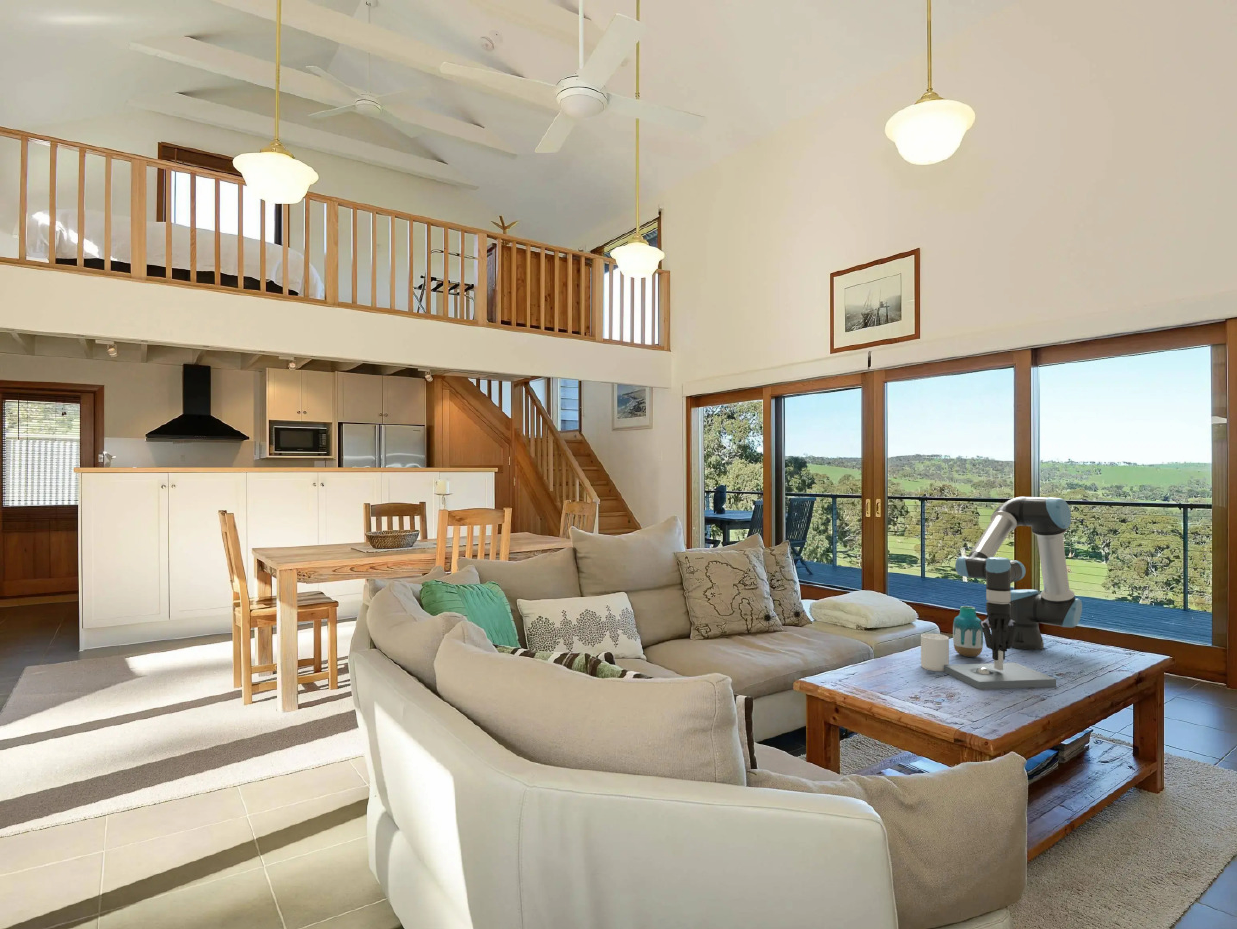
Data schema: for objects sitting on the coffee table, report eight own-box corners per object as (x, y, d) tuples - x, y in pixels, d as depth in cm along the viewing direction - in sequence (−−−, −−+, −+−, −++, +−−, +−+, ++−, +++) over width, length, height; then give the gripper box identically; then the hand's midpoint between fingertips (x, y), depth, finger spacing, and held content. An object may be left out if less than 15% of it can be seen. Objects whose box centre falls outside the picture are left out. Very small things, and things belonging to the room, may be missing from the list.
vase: (947, 654, 272) (946, 606, 272) (965, 651, 276) (965, 603, 276) (970, 661, 262) (970, 610, 262) (989, 657, 267) (989, 608, 267)
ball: (986, 668, 241) (977, 664, 241) (994, 672, 237) (985, 668, 237) (981, 678, 241) (972, 674, 241) (989, 683, 237) (980, 678, 237)
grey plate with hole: (1015, 669, 251) (1015, 662, 251) (1056, 686, 231) (1056, 679, 231) (943, 671, 248) (943, 664, 248) (979, 689, 228) (979, 681, 228)
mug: (937, 673, 246) (937, 640, 246) (909, 664, 257) (909, 633, 257) (954, 669, 251) (954, 637, 251) (926, 661, 261) (926, 631, 261)
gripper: (1008, 599, 244) (1008, 665, 244) (974, 600, 243) (974, 666, 243) (1023, 603, 237) (1023, 671, 237) (987, 604, 235) (988, 672, 235)
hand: (998, 669), depth 240 cm, fingers closed
